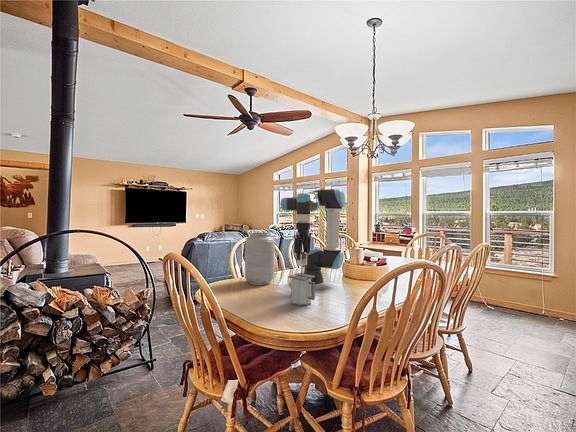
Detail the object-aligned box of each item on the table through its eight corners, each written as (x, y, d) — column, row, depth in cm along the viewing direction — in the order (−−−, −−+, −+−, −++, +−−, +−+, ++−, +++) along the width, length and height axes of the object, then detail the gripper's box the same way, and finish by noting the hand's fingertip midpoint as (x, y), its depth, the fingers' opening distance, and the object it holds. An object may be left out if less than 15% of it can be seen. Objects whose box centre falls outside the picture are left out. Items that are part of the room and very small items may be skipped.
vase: (279, 281, 209) (280, 233, 208) (262, 288, 192) (263, 235, 191) (256, 277, 219) (257, 231, 218) (238, 283, 202) (239, 233, 201)
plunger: (300, 281, 168) (300, 251, 167) (310, 283, 164) (311, 252, 163) (292, 283, 162) (293, 252, 162) (303, 285, 158) (303, 253, 158)
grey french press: (298, 298, 171) (299, 272, 170) (319, 304, 162) (319, 276, 162) (287, 303, 162) (287, 276, 162) (308, 308, 154) (308, 280, 154)
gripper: (306, 221, 171) (305, 262, 172) (287, 222, 157) (286, 266, 158) (317, 222, 167) (316, 264, 167) (299, 222, 153) (298, 268, 154)
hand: (301, 265), depth 163 cm, fingers closed on plunger, 4 cm apart
